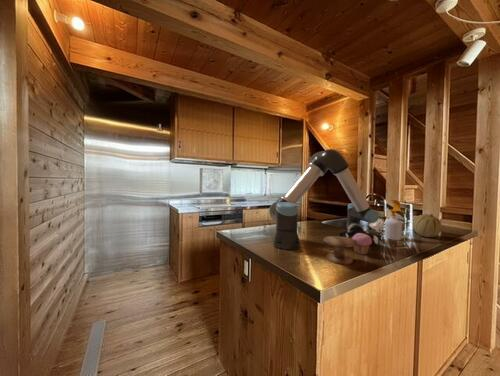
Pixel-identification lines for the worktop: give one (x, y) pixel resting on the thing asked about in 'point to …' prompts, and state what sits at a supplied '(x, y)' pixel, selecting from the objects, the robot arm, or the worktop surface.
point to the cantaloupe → (427, 225)
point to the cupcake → (362, 243)
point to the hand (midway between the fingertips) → (362, 240)
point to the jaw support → (377, 227)
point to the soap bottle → (393, 224)
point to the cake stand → (339, 249)
